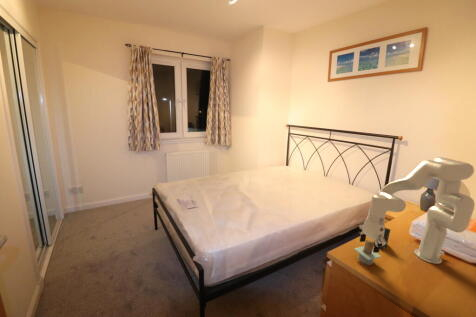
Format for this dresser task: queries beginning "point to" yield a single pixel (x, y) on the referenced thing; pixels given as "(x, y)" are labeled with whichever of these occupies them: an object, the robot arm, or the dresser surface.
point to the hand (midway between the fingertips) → (368, 246)
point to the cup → (365, 260)
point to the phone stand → (386, 237)
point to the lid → (367, 251)
